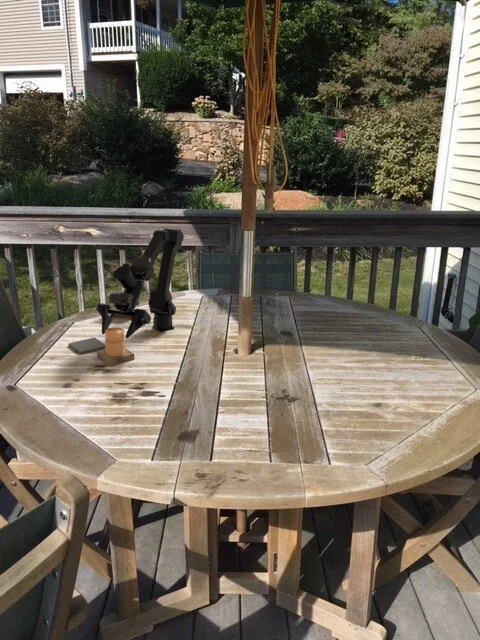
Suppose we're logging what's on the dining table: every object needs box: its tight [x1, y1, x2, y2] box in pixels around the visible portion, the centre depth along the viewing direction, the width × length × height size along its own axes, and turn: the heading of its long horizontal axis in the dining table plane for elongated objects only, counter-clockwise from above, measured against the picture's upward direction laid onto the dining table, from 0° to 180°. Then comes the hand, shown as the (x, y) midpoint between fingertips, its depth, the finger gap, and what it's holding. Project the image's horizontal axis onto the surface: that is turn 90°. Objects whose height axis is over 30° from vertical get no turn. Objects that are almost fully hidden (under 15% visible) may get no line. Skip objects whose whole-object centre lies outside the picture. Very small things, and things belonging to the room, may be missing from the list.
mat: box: [67, 337, 105, 355], centre depth 190 cm, size 10×10×1 cm
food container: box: [106, 290, 131, 320], centre depth 221 cm, size 12×6×10 cm, turn 84°
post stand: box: [96, 348, 135, 366], centre depth 180 cm, size 9×9×6 cm
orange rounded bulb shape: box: [104, 326, 126, 356], centre depth 179 cm, size 6×6×8 cm
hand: (114, 335), depth 178 cm, fingers open, 9 cm apart
